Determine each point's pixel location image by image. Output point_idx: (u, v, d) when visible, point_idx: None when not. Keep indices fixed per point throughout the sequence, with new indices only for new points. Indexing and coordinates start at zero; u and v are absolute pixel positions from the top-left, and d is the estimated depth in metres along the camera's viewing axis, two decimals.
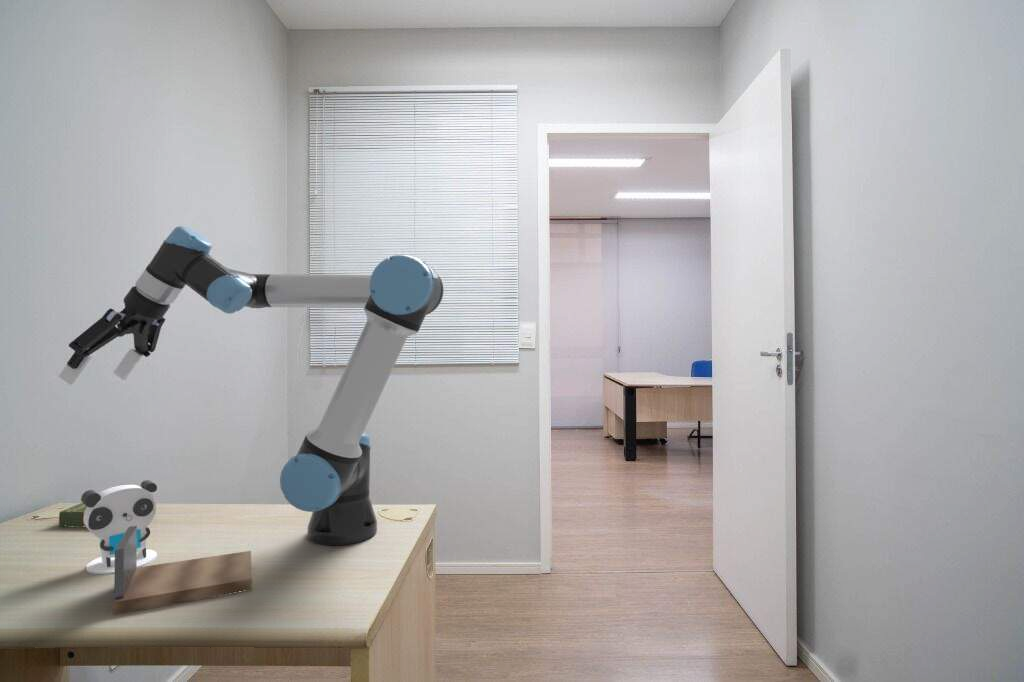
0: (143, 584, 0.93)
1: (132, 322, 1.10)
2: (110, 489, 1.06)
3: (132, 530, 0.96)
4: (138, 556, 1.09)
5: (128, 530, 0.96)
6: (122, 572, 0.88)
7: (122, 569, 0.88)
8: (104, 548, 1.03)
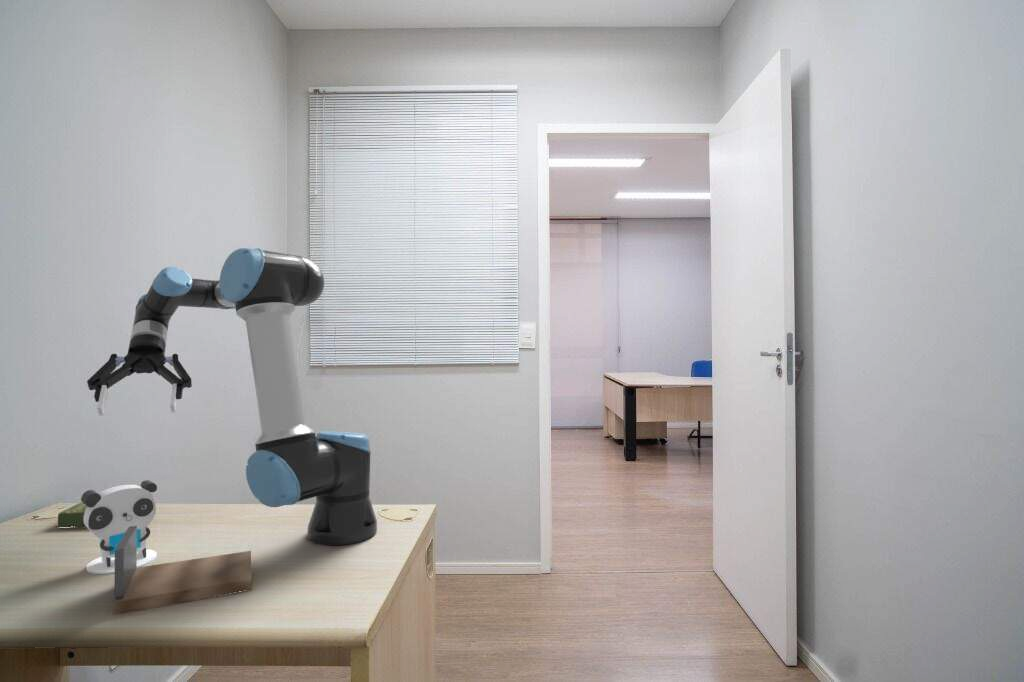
0: (143, 584, 0.93)
1: None
2: (110, 489, 1.06)
3: (132, 530, 0.96)
4: (138, 556, 1.09)
5: (128, 530, 0.96)
6: (122, 572, 0.88)
7: (122, 569, 0.88)
8: (104, 548, 1.03)
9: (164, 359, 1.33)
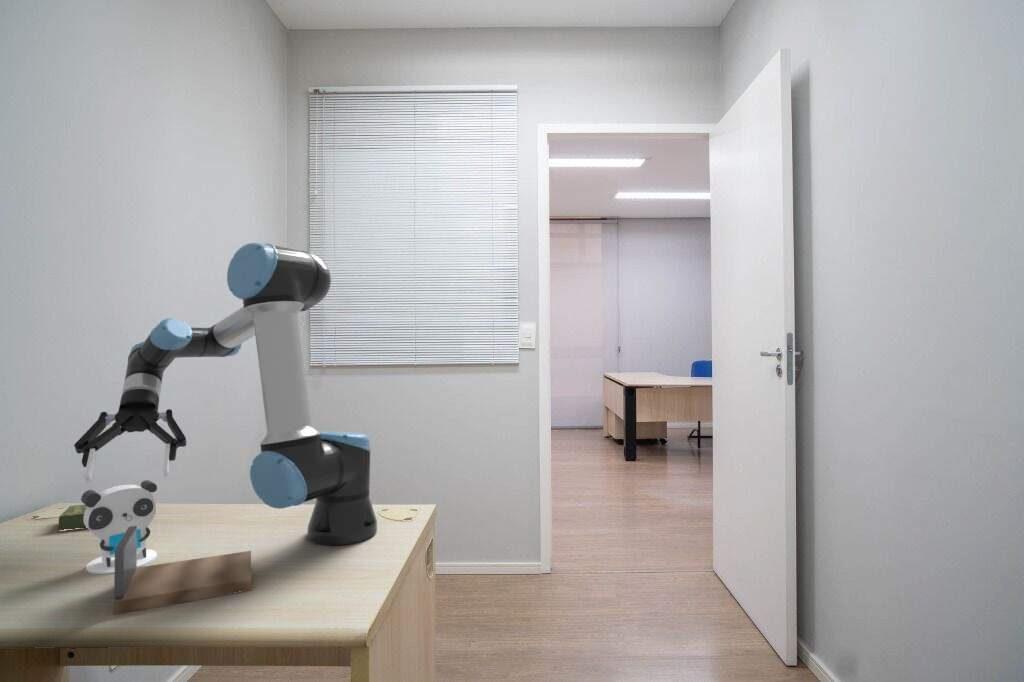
0: (143, 584, 0.93)
1: None
2: (110, 489, 1.06)
3: (132, 530, 0.96)
4: (138, 556, 1.09)
5: (128, 530, 0.96)
6: (122, 572, 0.88)
7: (122, 569, 0.88)
8: (104, 548, 1.03)
9: (157, 416, 1.25)
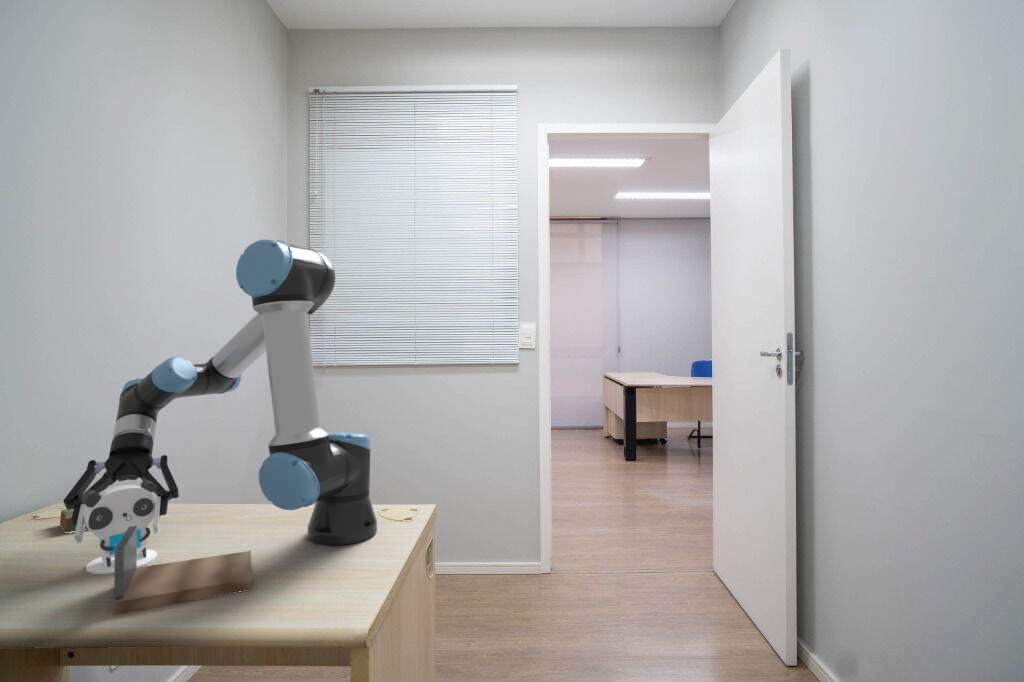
0: (143, 584, 0.93)
1: None
2: (110, 489, 1.06)
3: (132, 530, 0.96)
4: (138, 556, 1.09)
5: (128, 530, 0.96)
6: (122, 572, 0.88)
7: (122, 569, 0.88)
8: (104, 548, 1.03)
9: (151, 462, 1.15)
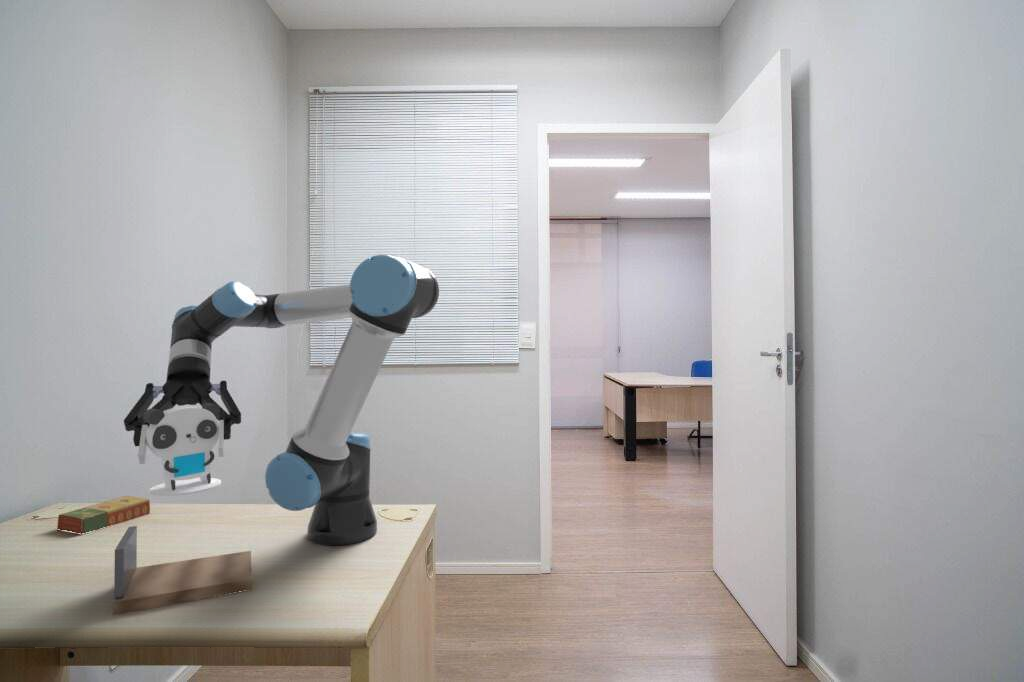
0: (143, 584, 0.93)
1: None
2: (172, 409, 0.99)
3: (132, 530, 0.96)
4: (202, 482, 1.02)
5: (128, 530, 0.96)
6: (122, 572, 0.88)
7: (122, 569, 0.88)
8: (169, 469, 0.96)
9: (210, 387, 1.08)
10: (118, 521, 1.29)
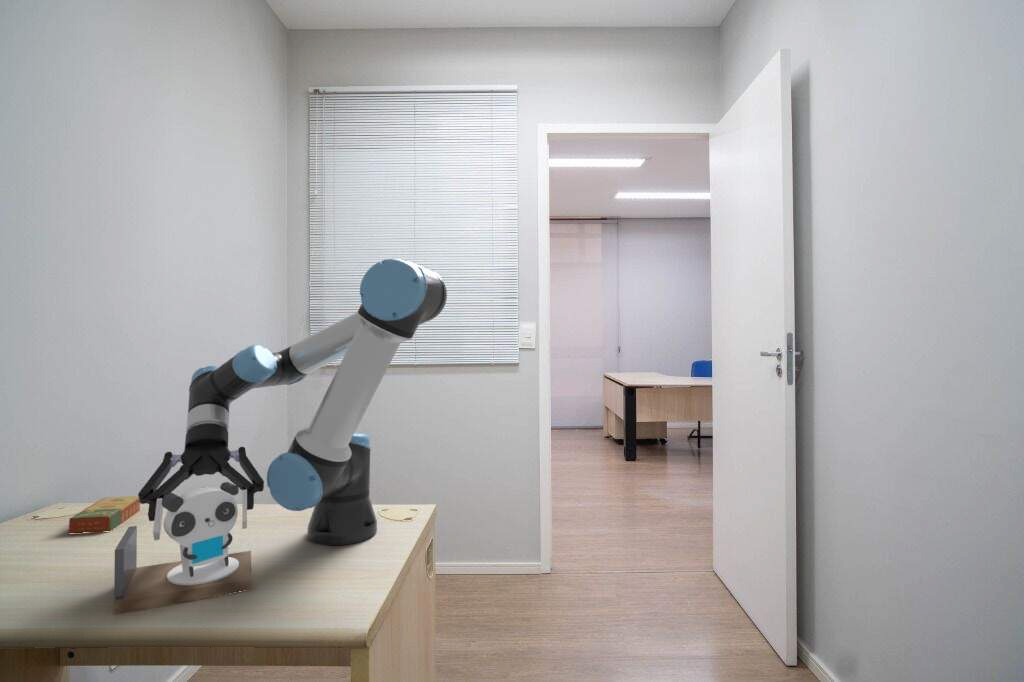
0: (143, 584, 0.93)
1: None
2: (191, 492, 0.97)
3: (132, 530, 0.96)
4: (219, 564, 1.00)
5: (128, 530, 0.96)
6: (122, 572, 0.88)
7: (122, 569, 0.88)
8: (187, 556, 0.94)
9: (229, 455, 1.07)
10: (126, 518, 1.31)
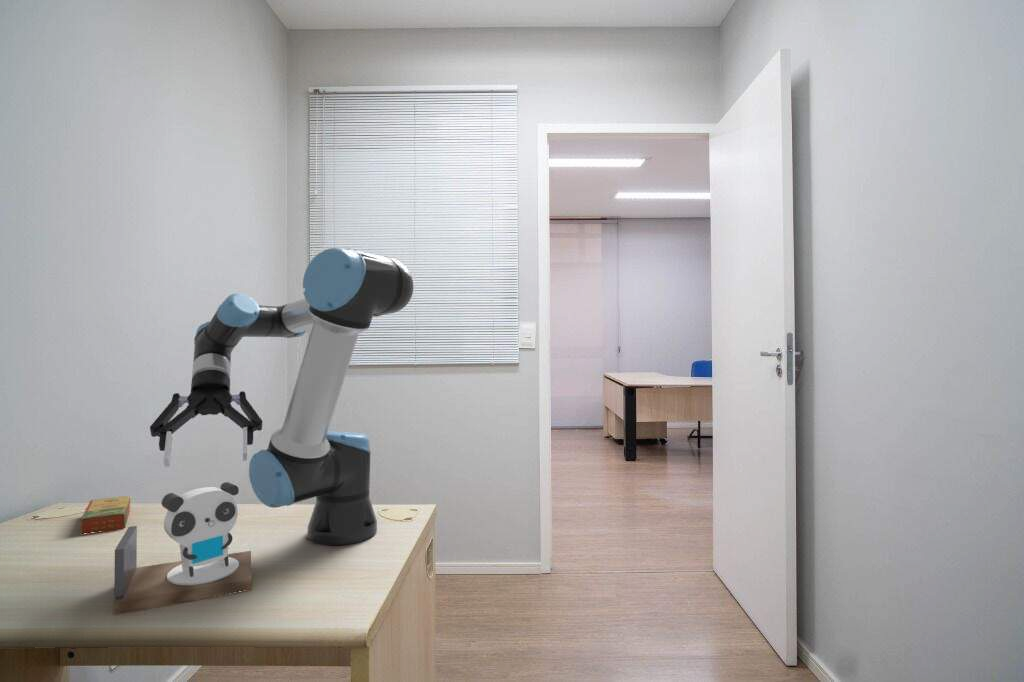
0: (143, 584, 0.93)
1: None
2: (191, 492, 0.97)
3: (132, 530, 0.96)
4: (219, 564, 1.00)
5: (128, 530, 0.96)
6: (122, 572, 0.88)
7: (122, 569, 0.88)
8: (187, 556, 0.94)
9: (231, 398, 1.18)
10: (127, 516, 1.32)
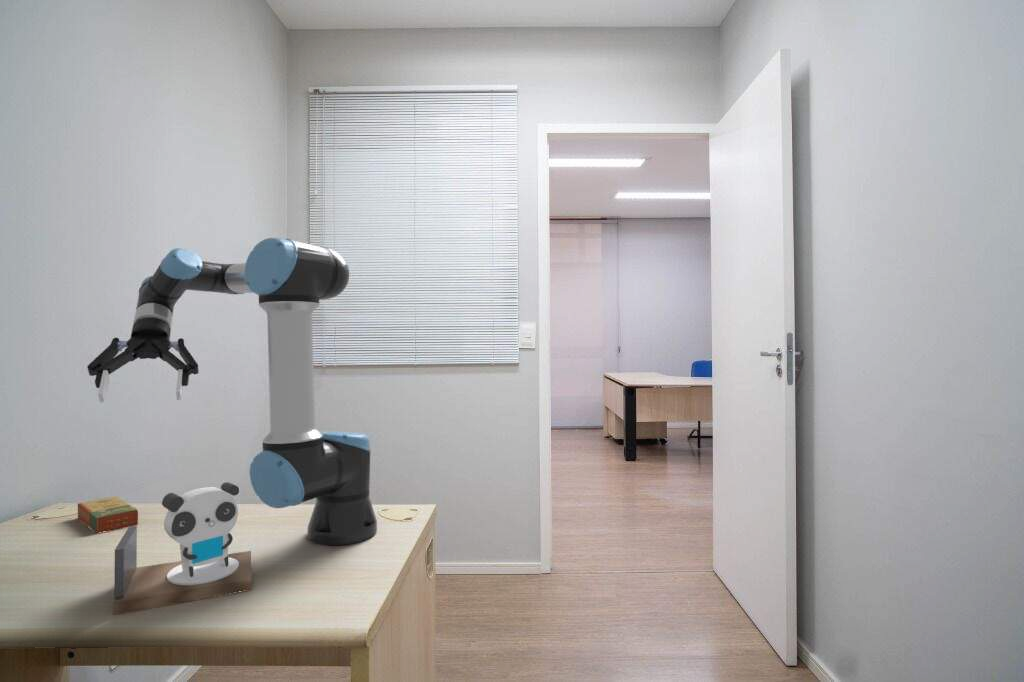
0: (143, 584, 0.93)
1: None
2: (191, 492, 0.97)
3: (132, 530, 0.96)
4: (219, 565, 1.00)
5: (128, 530, 0.96)
6: (122, 572, 0.88)
7: (122, 569, 0.88)
8: (187, 556, 0.94)
9: (169, 344, 1.25)
10: None
